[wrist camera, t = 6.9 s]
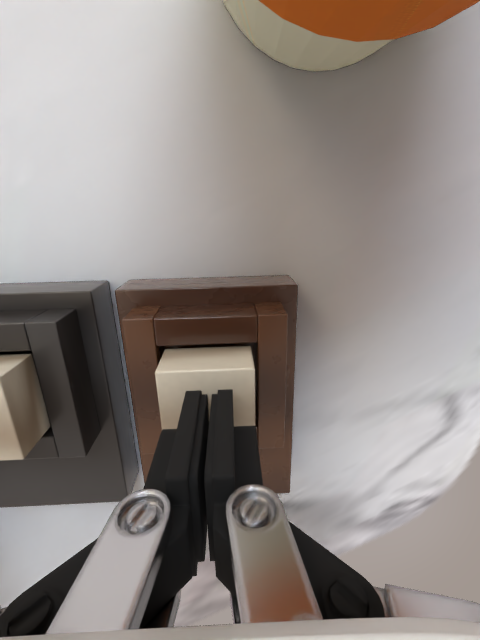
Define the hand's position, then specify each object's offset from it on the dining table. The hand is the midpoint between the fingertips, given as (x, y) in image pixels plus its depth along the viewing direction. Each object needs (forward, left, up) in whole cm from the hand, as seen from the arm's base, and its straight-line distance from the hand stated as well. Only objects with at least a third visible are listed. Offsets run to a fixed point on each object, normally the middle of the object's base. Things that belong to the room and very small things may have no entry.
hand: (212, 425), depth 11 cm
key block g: (+2, 0, -6) cm, 7 cm away
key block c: (+2, -9, -6) cm, 11 cm away
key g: (0, 0, -3) cm, 3 cm away
